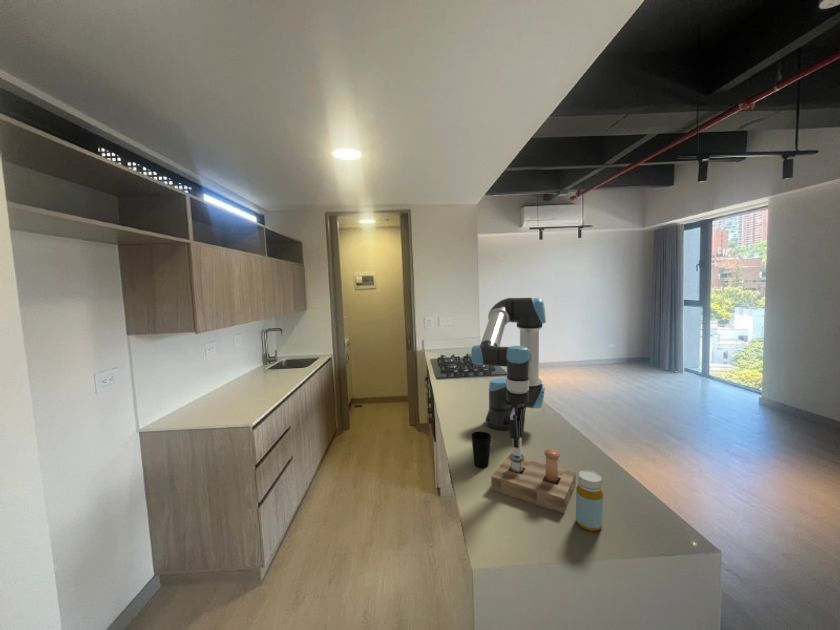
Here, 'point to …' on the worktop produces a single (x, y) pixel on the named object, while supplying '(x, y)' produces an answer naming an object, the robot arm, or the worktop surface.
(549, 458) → the terracotta plug
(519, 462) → the grey plug
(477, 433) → the cup
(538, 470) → the block
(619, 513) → the worktop surface
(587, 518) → the bottle
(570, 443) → the worktop surface
